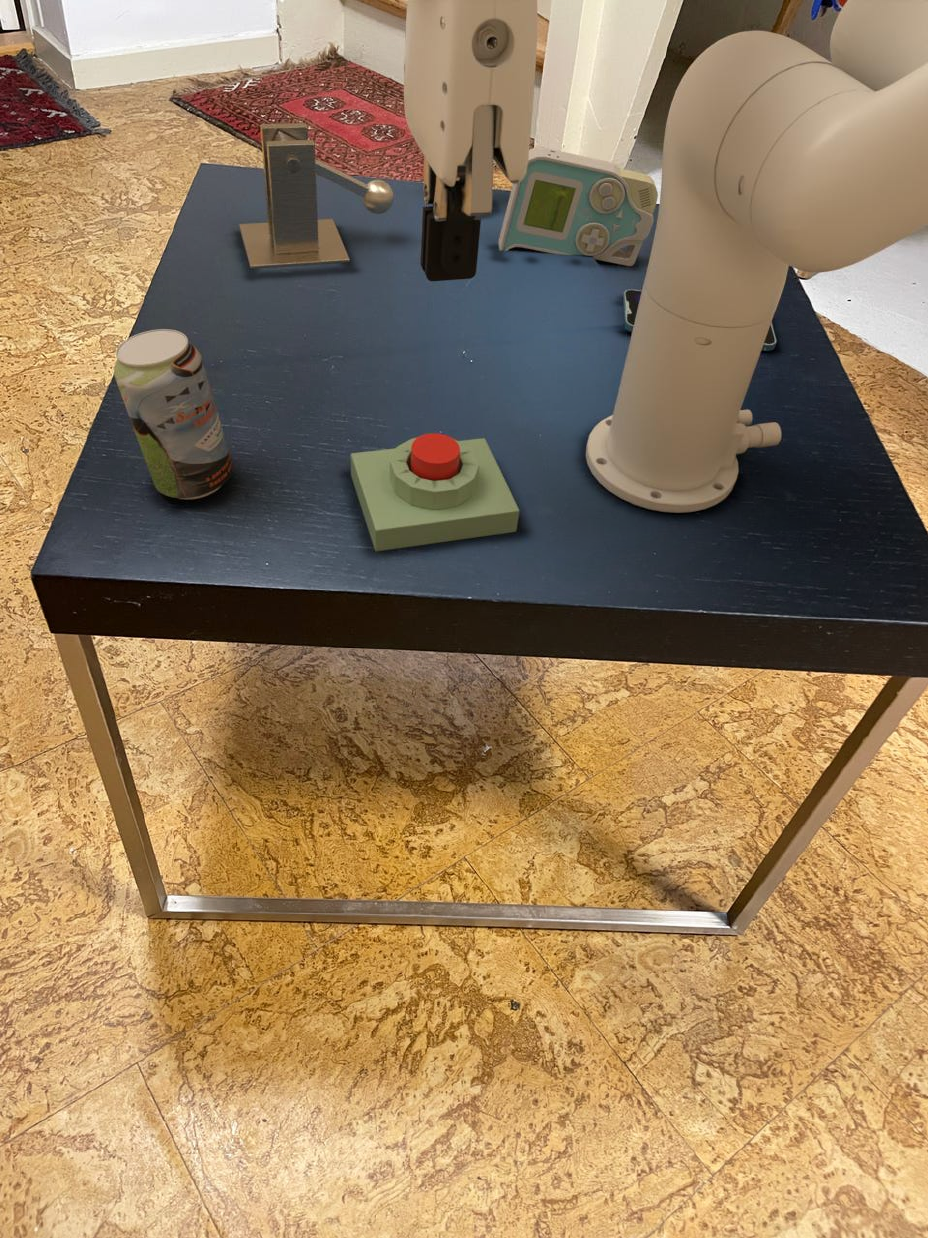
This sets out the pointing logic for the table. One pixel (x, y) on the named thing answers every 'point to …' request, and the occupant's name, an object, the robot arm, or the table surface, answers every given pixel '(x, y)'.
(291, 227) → the lever stand
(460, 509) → the button box
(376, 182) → the tap lever
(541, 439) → the table surface
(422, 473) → the button
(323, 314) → the table surface
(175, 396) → the beverage can
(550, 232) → the handheld gaming console
